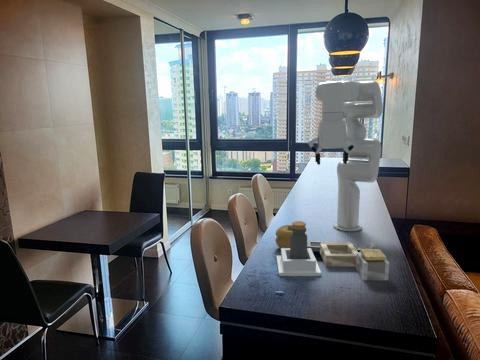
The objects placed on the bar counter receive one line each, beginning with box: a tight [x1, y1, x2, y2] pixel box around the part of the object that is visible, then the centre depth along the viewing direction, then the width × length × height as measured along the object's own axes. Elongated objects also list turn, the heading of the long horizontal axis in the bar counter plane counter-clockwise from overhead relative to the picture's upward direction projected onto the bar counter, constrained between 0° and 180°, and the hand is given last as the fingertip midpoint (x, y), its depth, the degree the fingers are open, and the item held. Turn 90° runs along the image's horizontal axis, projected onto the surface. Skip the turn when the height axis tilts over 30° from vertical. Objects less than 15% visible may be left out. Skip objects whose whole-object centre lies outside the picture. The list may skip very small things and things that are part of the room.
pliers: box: [347, 240, 374, 253], centre depth 138 cm, size 10×2×15 cm
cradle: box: [276, 247, 322, 277], centre depth 124 cm, size 14×14×5 cm
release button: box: [360, 248, 387, 262], centre depth 117 cm, size 6×6×6 cm
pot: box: [275, 224, 293, 250], centre depth 139 cm, size 12×12×10 cm
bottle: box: [290, 220, 308, 259], centre depth 123 cm, size 6×6×15 cm
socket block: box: [319, 242, 390, 281], centre depth 124 cm, size 22×18×6 cm
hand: (331, 163), depth 131 cm, fingers open, 9 cm apart
